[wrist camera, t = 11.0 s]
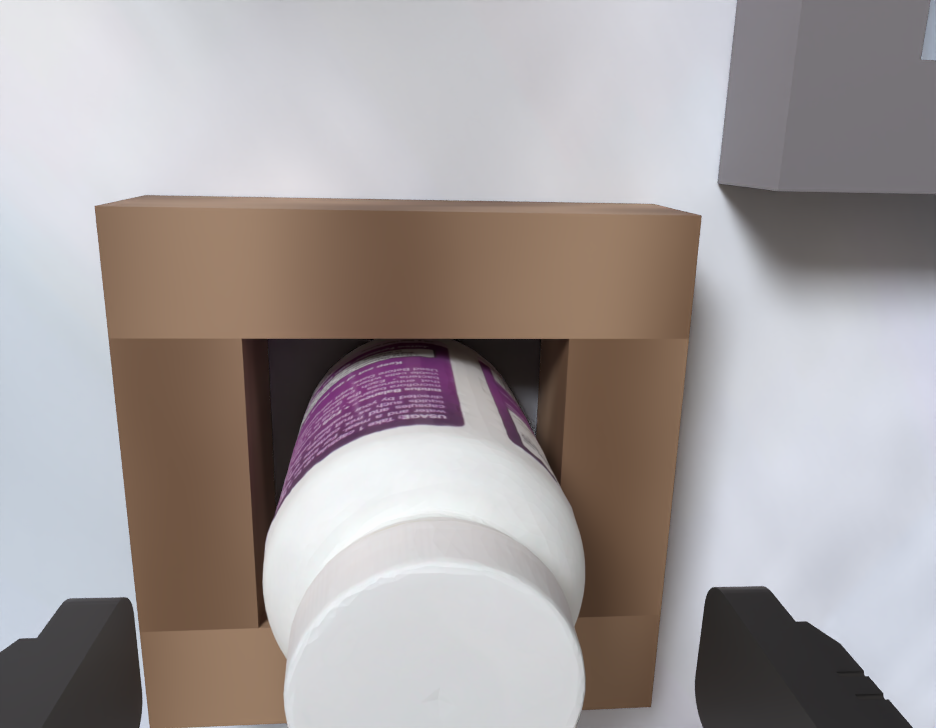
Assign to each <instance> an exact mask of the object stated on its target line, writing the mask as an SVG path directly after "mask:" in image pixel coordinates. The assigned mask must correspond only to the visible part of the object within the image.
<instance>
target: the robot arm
mask: <svg viewBox="0 0 936 728" xmlns="http://www.w3.org/2000/svg"><path fill="white" fill-rule="evenodd" d="M695 696H696V704H697V709H698V713H699V717H700V720H701V723H702V726H703V728H913V727H912V726H911V725H910V724H909V723H908V722H907V720H906V719H905V718H904V717H903V716H902V715H901V713H900V712H899V711H898V710H897V709H896V708H895V707H894V705H893V704H892V703H891V702H890V701H889V700H888V699H887V700H885V699H884V697H883V693H882V691H881V690H880V689H879V688H878V687H877V686H876V685H875V683H874V682H873V681H872V680H871V679H870V678H869V676H864V671H863V669H862V668H861V667H860V666H859V665H858V664H857V663H856V661H855V660H854V659H853V658H852V657H851V656H850V654H849V653H848V652H847V651H846V650H845V649H844V648H843V646H842V645H841V644H840V643H838V642H837V641H835V640H834V639H832V638H831V637H829V636H828V635H826V634H825V633H823V632H822V631H820V630H819V629H817V628H816V627H814V626H813V625H811V624H810V623H808V622H807V621H806V622H795V620H794V619H793V618H792V617H791V615H790V614H789V613H788V612H787V610H786V609H785V608H784V607H783V606H782V604H781V603H780V602H779V601H778V599H777V598H776V597H775V596H774V594H773V593H772V592H771V591H770V590H769V589H768V588H766V587H764V586H751V587H713V588H711V589H710V590H709V591H708V594H707V596H706V600H705V606H704V613H703V621H702V629H701V637H700V645H699V653H698V660H697V668H696V676H695ZM141 714H142V687H141V678H140V668H139V659H138V649H137V639H136V630H135V620H134V612H133V607H132V604H131V602H130V600H129V599H128V598H125V597H122V598H72V599H67V600H66V601H64V602H63V603H62V605H61V606H60V607H59V609H58V610H57V611H56V613H55V614H54V615H53V617H52V618H51V620H50V621H49V622H48V624H47V625H46V626H45V628H44V629H43V630H42V632H41V633H40V635H39V636H38V637H37V638H26V639H19V640H17V641H16V642H14V643H13V644H11V645H10V646H9V647H7V648H6V649H4V650H3V651H1V652H0V728H139V727H140V721H141Z"/></svg>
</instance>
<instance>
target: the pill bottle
mask: <svg viewBox="0 0 936 728" xmlns="http://www.w3.org/2000/svg"><path fill="white" fill-rule="evenodd" d="M584 585H585V558H584V550H583V544H582V540H581V535H580V532H579V529H578V526H577V523H576V520H575V517H574V513H573V510H572V507H571V505H570V503H569V501H568V500H567V498H566V496H565V495H564V493H563V491H562V489H561V487H560V485H559V483H558V481H557V479H556V477H555V475H554V473H553V471H552V470H551V468H550V466H549V464H548V462H547V459H546V457H545V455H544V452H543V450H542V449H541V447H540V445H539V443H538V441H537V439H536V437H535V435H534V433H533V431H532V429H531V427H530V425H529V423H528V421H527V419H526V417H525V415H524V414H523V412H522V410H521V408H520V406H519V404H518V403H517V401H516V399H515V397H514V395H513V393H512V392H511V390H510V388H509V387H508V385H507V383H506V382H505V380H504V379H503V377H502V376H501V375H500V373H499V372H498V371H497V370H496V369H495V368H494V366H493V365H492V364H491V363H489V362H488V361H487V360H486V359H485V358H483V357H482V356H481V355H480V354H478V353H477V352H476V351H474V350H473V349H471V348H469V347H467V346H465V345H463V344H461V343H459V342H457V341H454V340H452V339H375V340H373V341H370V342H368V343H366V344H364V345H362V346H360V347H358V348H356V349H355V350H353V351H351V352H350V353H348V354H347V355H345V356H344V357H343V358H342V359H340V360H339V361H338V362H337V363H336V364H335V365H333V366H332V367H331V368H330V370H329V371H328V372H327V373H326V374H325V376H324V377H323V378H322V380H321V381H320V382H319V384H318V385H317V387H316V388H315V391H314V393H313V395H312V397H311V399H310V401H309V404H308V407H307V409H306V412H305V414H304V418H303V421H302V423H301V426H300V431H299V434H298V438H297V441H296V444H295V447H294V450H293V453H292V457H291V460H290V464H289V468H288V472H287V475H286V478H285V482H284V486H283V489H282V492H281V496H280V499H279V502H278V505H277V509H276V512H275V516H274V518H273V520H272V523H271V525H270V528H269V530H268V533H267V537H266V542H265V553H264V563H263V596H264V602H265V609H266V613H267V617H268V620H269V624H270V627H271V629H272V632H273V635H274V637H275V639H276V641H277V643H278V645H279V647H280V649H281V651H282V652H283V654H284V656H285V657H286V659H287V663H286V672H285V682H284V693H283V696H284V709H285V715H286V721H287V726H288V728H576V725H577V723H578V721H579V718H580V715H581V711H582V707H583V702H584V696H585V681H586V676H585V667H584V660H583V655H582V650H581V646H580V643H579V640H578V637H577V634H576V631H575V627H574V626H575V624H576V621H577V618H578V615H579V612H580V608H581V604H582V599H583V595H584Z"/></svg>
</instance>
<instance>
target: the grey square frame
mask: <svg viewBox="0 0 936 728" xmlns="http://www.w3.org/2000/svg"><path fill="white" fill-rule="evenodd" d="M930 1H931V0H737V8H736V17H735V26H734V35H733V45H732V54H731V63H730V73H729V82H728V91H727V100H726V110H725V119H724V128H723V138H722V147H721V156H720V165H719V175H718V183H719V184H727V185H734V186H742V187H750V188H758V189H765V190H773V191H797V192H850V193H903V194H936V60H921V54H922V48H923V42H924V36H925V30H926V24H927V18H928V12H929V7H930Z"/></svg>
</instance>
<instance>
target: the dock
mask: <svg viewBox="0 0 936 728" xmlns="http://www.w3.org/2000/svg"><path fill="white" fill-rule="evenodd" d="M95 214H96V224H97V233H98V242H99V252H100V261H101V271H102V280H103V290H104V299H105V309H106V318H107V327H108V337H109V346H110V356H111V365H112V375H113V384H114V394H115V403H116V412H117V422H118V431H119V441H120V450H121V460H122V469H123V479H124V488H125V497H126V507H127V516H128V526H129V535H130V545H131V554H132V564H133V573H134V582H135V592H136V601H137V611H138V620H139V630H140V639H141V649H142V658H143V667H144V677H145V686H146V696H147V705H148V715H149V724H150V728H188V727H210V726H233V725H255V724H278V723H287V721H286V715H285V709H284V696H283V693H284V682H285V672H286V663H287V659H286V657H285V656H284V654H283V652H282V651H281V649H280V647H279V645H278V643H277V641H276V639H275V637H274V635H273V632H272V629H271V627H270V624H269V620H268V617H267V613H266V609H265V602H264V596H263V563H264V553H265V542H266V537H267V533H268V530H269V528H270V525H271V523H272V520H273V518H274V516H275V512H276V501H275V480H274V460H273V439H272V418H271V398H270V377H269V357H268V339H541V350H540V370H539V390H538V410H537V430H536V439H537V441H538V443H539V445H540V447H541V449H542V450H543V452H544V455H545V457H546V459H547V462H548V464H549V466H550V468H551V470H552V471H553V473H554V475H555V477H556V479H557V481H558V483H559V485H560V487H561V489H562V491H563V493H564V495H565V496H566V498H567V500H568V501H569V503H570V505H571V507H572V510H573V513H574V517H575V520H576V523H577V526H578V529H579V532H580V535H581V540H582V544H583V550H584V558H585V585H584V595H583V599H582V604H581V608H580V612H579V615H578V618H577V621H576V624H575V626H574V627H575V631H576V634H577V637H578V640H579V643H580V646H581V650H582V655H583V660H584V667H585V676H586V681H585V696H584V702H583V707H582V710H593V709H616V708H638V707H651V701H652V691H653V681H654V672H655V662H656V652H657V643H658V633H659V623H660V614H661V604H662V594H663V585H664V575H665V565H666V556H667V546H668V536H669V527H670V517H671V507H672V498H673V488H674V478H675V469H676V459H677V449H678V440H679V430H680V420H681V410H682V401H683V391H684V381H685V372H686V362H687V352H688V343H689V333H690V323H691V314H692V304H693V294H694V285H695V275H696V265H697V256H698V246H699V236H700V227H701V217H702V216H701V215H697V214H693V213H688V212H684V211H680V210H676V209H672V208H668V207H664V206H659V205H655V204H624V203H565V202H507V201H448V200H389V199H331V198H272V197H213V196H155V195H144V196H140V197H135V198H130V199H126V200H121V201H116V202H112V203H107V204H102V205H98V206H95Z"/></svg>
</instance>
